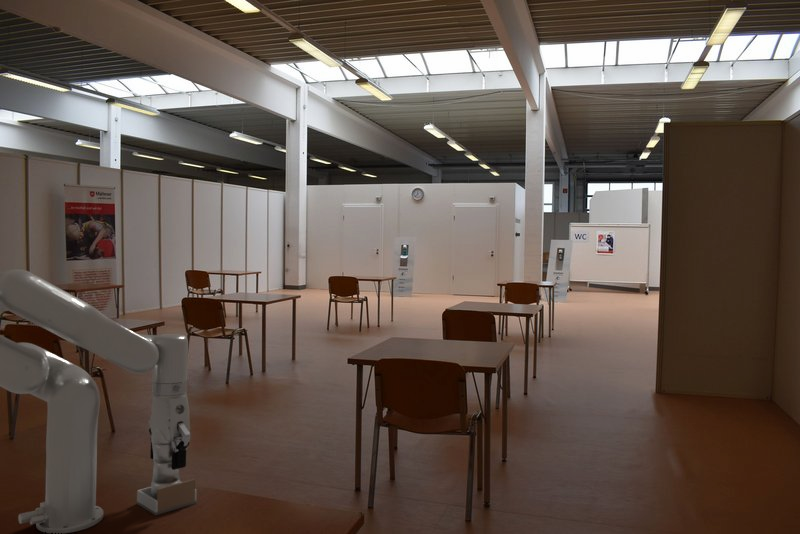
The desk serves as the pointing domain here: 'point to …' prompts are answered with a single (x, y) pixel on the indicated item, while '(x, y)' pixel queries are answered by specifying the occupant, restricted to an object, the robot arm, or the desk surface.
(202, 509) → the desk surface
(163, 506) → the drawer
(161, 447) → the plastic bottle
